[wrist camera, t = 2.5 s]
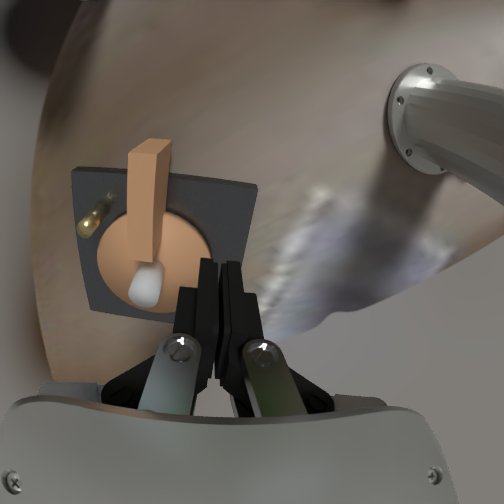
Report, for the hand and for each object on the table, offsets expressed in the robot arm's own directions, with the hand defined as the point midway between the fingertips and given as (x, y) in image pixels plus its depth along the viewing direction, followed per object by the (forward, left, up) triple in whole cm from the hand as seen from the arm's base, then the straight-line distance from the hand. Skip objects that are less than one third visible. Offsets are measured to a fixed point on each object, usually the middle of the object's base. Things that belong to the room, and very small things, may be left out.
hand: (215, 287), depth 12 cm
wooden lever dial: (+6, +6, -14) cm, 16 cm away
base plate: (+6, +9, -16) cm, 19 cm away
